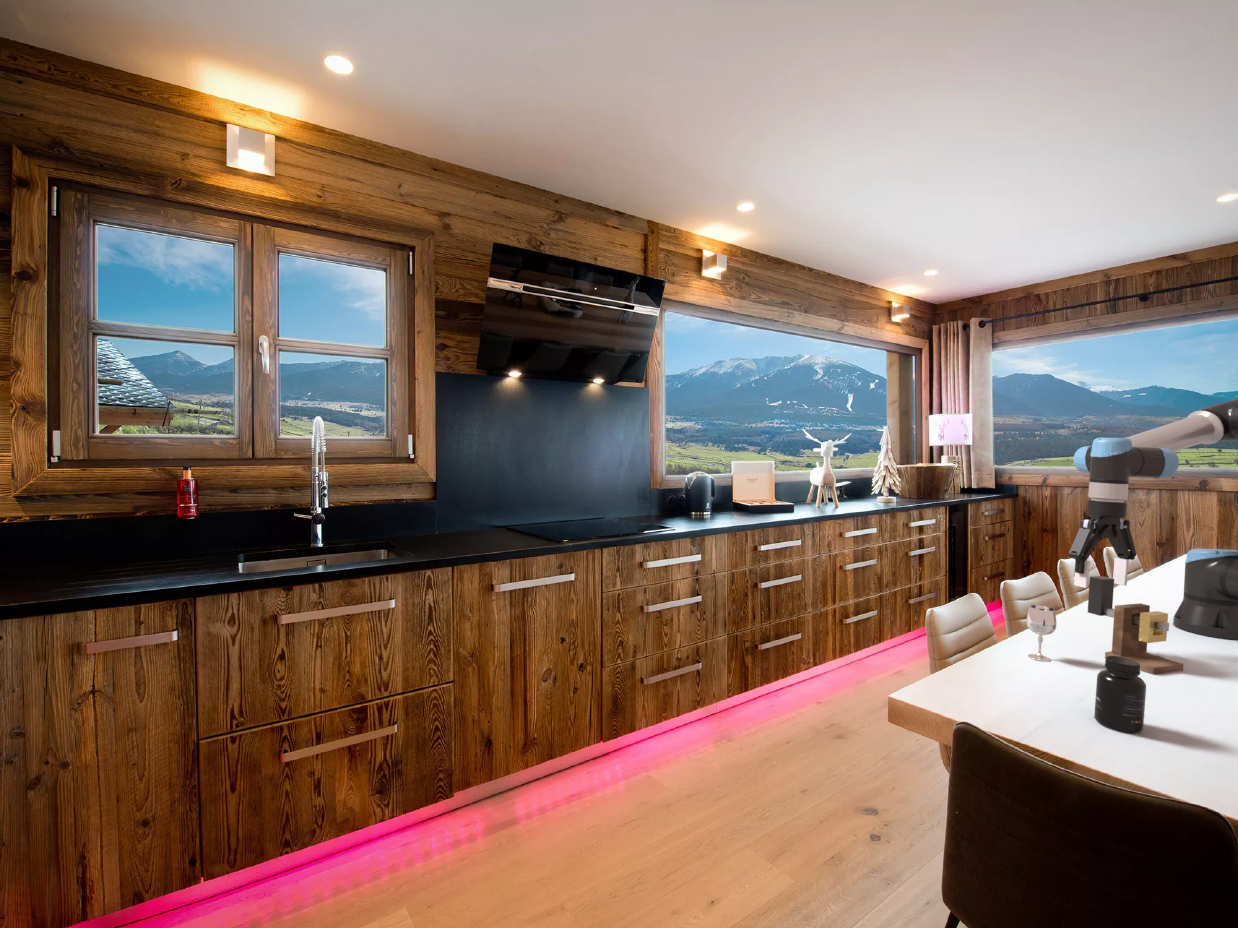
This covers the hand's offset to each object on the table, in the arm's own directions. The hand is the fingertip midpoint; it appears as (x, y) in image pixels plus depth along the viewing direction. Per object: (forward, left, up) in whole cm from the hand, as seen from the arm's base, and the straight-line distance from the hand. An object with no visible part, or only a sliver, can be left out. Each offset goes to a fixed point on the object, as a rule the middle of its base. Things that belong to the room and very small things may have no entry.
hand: (1100, 585), depth 148 cm
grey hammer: (0, +6, -7) cm, 9 cm away
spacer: (0, +12, -10) cm, 15 cm away
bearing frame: (0, +9, -16) cm, 18 cm away
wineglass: (+21, +1, -16) cm, 26 cm away
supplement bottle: (+40, +30, -16) cm, 52 cm away
